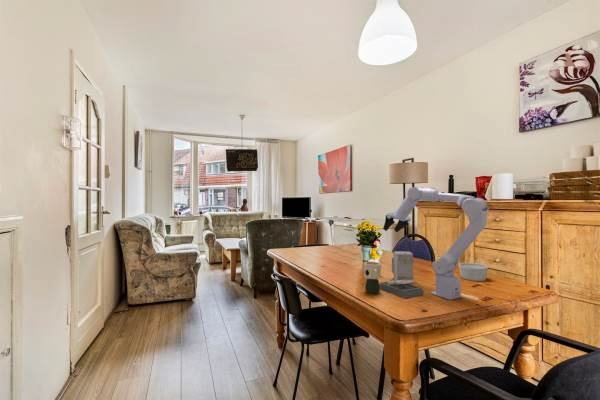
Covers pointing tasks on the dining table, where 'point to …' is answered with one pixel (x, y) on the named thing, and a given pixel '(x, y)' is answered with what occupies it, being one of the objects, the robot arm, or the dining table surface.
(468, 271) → the ramekin
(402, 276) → the circuit breaker
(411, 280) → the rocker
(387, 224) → the robot arm
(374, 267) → the character mug
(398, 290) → the breaker panel
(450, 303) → the dining table surface
